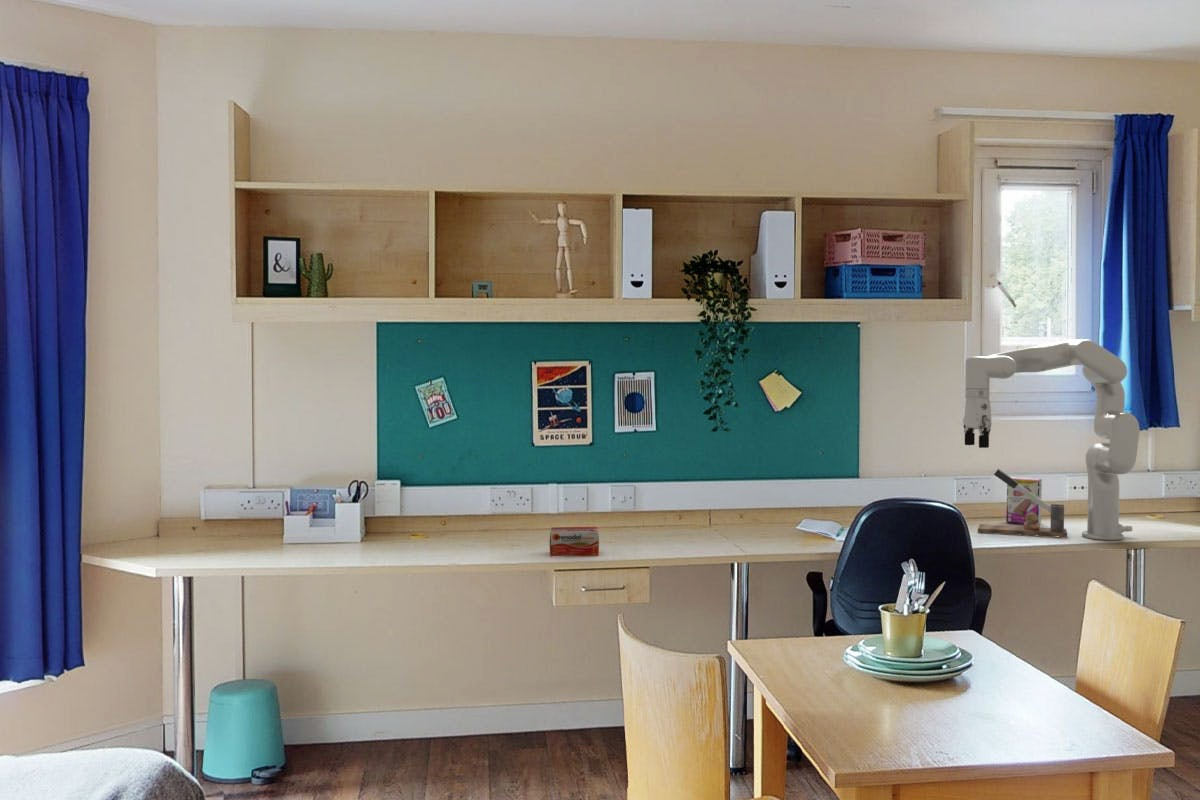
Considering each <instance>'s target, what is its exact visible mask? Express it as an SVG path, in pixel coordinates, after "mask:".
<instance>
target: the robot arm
mask: <svg viewBox="0 0 1200 800" xmlns="http://www.w3.org/2000/svg"><path fill="white" fill-rule="evenodd" d="M1071 366H1072V367H1073V366H1082V370H1081V371H1082V375H1083V376H1084V378H1085V379H1086V380H1087V381H1088V382H1089V383H1090V384H1091V385H1092V386H1093V389H1094V391H1095V392H1096V404H1095V411H1094V421H1093V432H1094V433H1095V434H1096V436H1098V437H1099V438H1102V439H1105V440H1109V442H1096V443H1093V444H1092V445H1091V446H1089V448H1088V449H1087V450H1086V454H1085V466H1086V471H1087V516H1086V517H1087V521H1086V524H1087V525H1086V526H1087V529H1086V531H1083V532H1082V533H1081V536H1082V537H1083V538H1087V539H1093V540H1102V541H1119V540H1123V539H1124V537H1125V536H1124V534H1122V533H1124V532H1125V533H1127V532H1132V531H1133V526H1132V525H1123V524H1120V523H1119V522H1120V517H1119V516H1120V479H1119V475H1126V474H1128V473H1130V472H1131V471H1132V470H1133V468H1134V467H1135V465H1136V461H1137V456H1138V448H1139V447H1138V446H1139V442H1140V441H1139V439H1140V432H1141V431H1140V424H1139V421H1138V419H1137V418H1136V416H1134V414H1131V413H1129V412H1127V411H1125V403H1126V400H1125V399H1126V395H1125V388H1124V386H1123V384H1122V382H1123V381H1124V380H1125V378H1126V377H1127V374H1128V369H1127V365H1126V364H1125V362H1124V361H1123V359H1121V358H1119V357H1118V356H1117V355H1115V354H1114V353H1112V352H1111V351H1109V350H1108V349H1106V348H1104V347H1103V346H1101V345H1100V344H1099V343H1097V342H1094V341H1093V340H1090V339H1086V338H1085V339H1082V338H1081V339H1077V338H1076V339H1075V338H1074V339H1067V340H1062V341H1057V342H1053V343H1046V344H1041V345H1037V346H1032V347H1027V348H1022V349H1016V350H1010V351H1005V352H1000V353H995V354H991V355H987V356H980V355H979V356H978V355H977V356H968V357H967V358H966V359H965V375H964V376H965V382H964V384H965V385H964V390H965V391H964V399H965V405H964V418H962V422H963V429H964V430H963V433H964V445H965V446H974V445H975V443H976V442H975V440H976V439H975V436H976V435H975V434H976V433H975V432H974V431H975V430H978V432H979V435H978V447H979V448H980V449H986V448H987V449H989V447H990V435H991V430H992V429H991V428H992V408H991V401H990V381H991V380H990V379H999V380H1000V379H1001V380H1005V379H1006V380H1007V379H1009V378H1011V377H1013V376H1014V375H1015V374H1019V373H1020V374H1021V373H1041V372H1043V373H1044V372H1047V371H1051V370H1056V369H1062V368H1067V367H1071Z"/></svg>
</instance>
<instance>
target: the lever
mask: <svg viewBox="0 0 1200 800" xmlns="http://www.w3.org/2000/svg"><path fill="white" fill-rule="evenodd" d="M993 475H994V476H995V477H997V478H998V479H999V480H1000V481H1002V482H1004V483H1005V484H1006V485H1007V484H1008V485H1009V486H1011V487H1012V488H1014V489H1015V488H1016V489H1017V490H1018V491H1020V492H1021V493H1023V494H1024V495H1026V496H1027V497H1028V498H1030V499H1031V500H1033V501H1034V502H1036V503H1037V504H1039V505H1040V506H1041V508H1043V510H1046V511H1047V512H1049V513H1050V514H1051V505H1049V504H1048V503H1046V502H1045V501H1044V500H1042V498H1041V499H1039V498H1038V497H1036V496H1035V495H1034V494H1032V493H1031V492H1029V491H1028V490H1026V489H1025V488H1023V487H1022V486H1021V485H1019V484H1018V482H1017V481H1015V480H1014V479H1012V478H1011V477H1012V476H1010V475H1008V474H1007V473H1005V472H1004V471H1002V470H1001V469H1000V468H997V470H996V471H995V472H994V473H993Z"/></svg>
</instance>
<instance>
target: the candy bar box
mask: <svg viewBox="0 0 1200 800" xmlns="http://www.w3.org/2000/svg"><path fill="white" fill-rule="evenodd" d="M1010 477H1011V478H1012V479H1014V480H1015V481H1017V482H1018V484H1019V485H1021V486H1022V487H1023V488H1025V489H1026V490H1028V491H1029V492H1031V493H1032V494H1034V495H1035V496H1036V497H1038V498H1039V499H1041V500H1042V488H1043V486H1042V485H1043V484H1042V483H1043V479H1042V478H1032V477H1031V478H1030V477H1018V476H1016V477H1015V476H1010ZM1006 485H1007V487H1006V517H1005V521H1006V523H1007V522H1010V524H1017V523H1022V525H1024V523H1025V522H1026V515H1027V514H1029V513H1035V514H1036V515H1037V516H1038V521H1037V523H1039V525H1040V524H1041V523H1042V507H1041V506H1040V505H1039V504H1037V503H1036V502H1034V501H1033V500H1031V499H1030V498H1028V497H1027V496H1026V495H1024V494H1023V493H1021V492H1020V491H1018V490H1017V489H1016V488H1015V489H1014V488H1012V487H1011V486H1009V485H1008V484H1006Z"/></svg>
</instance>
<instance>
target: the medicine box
mask: <svg viewBox="0 0 1200 800" xmlns="http://www.w3.org/2000/svg"><path fill="white" fill-rule="evenodd" d="M599 550H600V536H599V529H598V526H564V527H562V526H561V527H560V526H557V527H553V526H552V527H550V532H549V556H550V557H551V556H564V557H598V556H599V553H600V551H599Z"/></svg>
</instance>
